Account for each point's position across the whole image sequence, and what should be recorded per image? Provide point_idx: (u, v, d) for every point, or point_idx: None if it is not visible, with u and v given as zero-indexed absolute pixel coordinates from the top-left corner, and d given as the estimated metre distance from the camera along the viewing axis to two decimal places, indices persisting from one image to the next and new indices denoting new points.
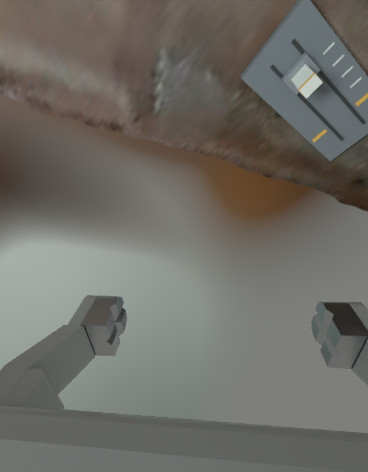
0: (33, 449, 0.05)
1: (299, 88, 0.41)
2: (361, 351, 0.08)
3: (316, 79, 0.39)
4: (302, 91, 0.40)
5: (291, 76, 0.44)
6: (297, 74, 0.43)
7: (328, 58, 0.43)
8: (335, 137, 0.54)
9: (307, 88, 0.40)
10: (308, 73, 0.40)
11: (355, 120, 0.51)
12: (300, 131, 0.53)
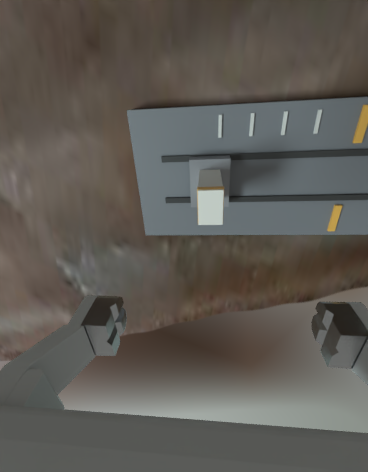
0: (33, 449, 0.05)
1: None
2: (361, 351, 0.08)
3: (207, 194, 0.19)
4: (204, 222, 0.20)
5: (196, 195, 0.25)
6: None
7: (233, 134, 0.23)
8: None
9: (208, 214, 0.19)
10: None
11: None
12: (293, 232, 0.28)
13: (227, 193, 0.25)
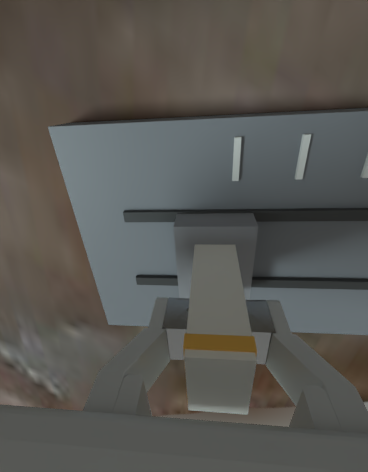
0: (33, 449, 0.05)
1: None
2: (269, 347, 0.08)
3: (211, 366, 0.07)
4: (202, 408, 0.08)
5: (189, 284, 0.13)
6: None
7: (263, 175, 0.12)
8: None
9: (212, 396, 0.08)
10: None
11: None
12: (357, 331, 0.16)
13: (248, 283, 0.13)
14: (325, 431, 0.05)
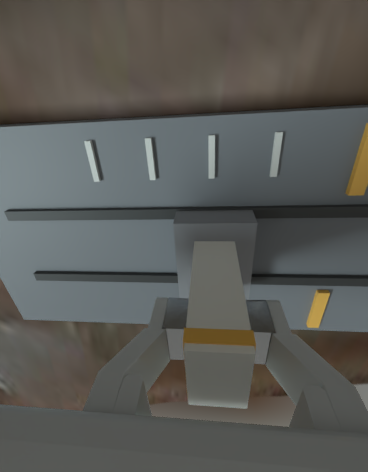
0: (33, 449, 0.05)
1: None
2: (269, 347, 0.08)
3: (211, 359, 0.07)
4: (202, 402, 0.08)
5: (189, 281, 0.13)
6: None
7: (122, 176, 0.12)
8: None
9: (212, 390, 0.08)
10: None
11: None
12: None
13: (247, 280, 0.13)
14: (325, 431, 0.05)
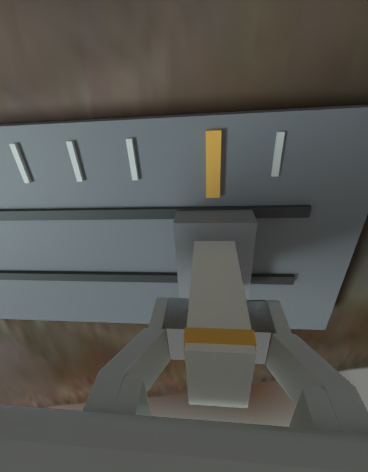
0: (33, 449, 0.05)
1: None
2: (269, 347, 0.08)
3: (212, 359, 0.07)
4: (202, 401, 0.08)
5: (188, 281, 0.13)
6: None
7: (0, 179, 0.13)
8: (263, 285, 0.15)
9: (212, 390, 0.08)
10: None
11: (270, 222, 0.13)
12: None
13: (247, 280, 0.13)
14: (325, 431, 0.05)
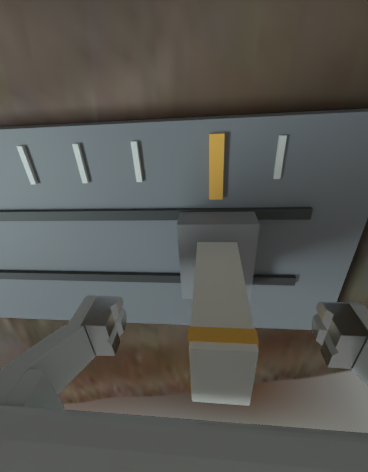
0: (33, 449, 0.05)
1: None
2: (361, 351, 0.08)
3: (215, 357, 0.07)
4: (205, 399, 0.08)
5: (191, 281, 0.14)
6: None
7: (7, 180, 0.13)
8: (264, 286, 0.15)
9: (216, 387, 0.08)
10: None
11: (272, 224, 0.13)
12: (159, 321, 0.18)
13: (249, 280, 0.13)
14: (325, 431, 0.05)
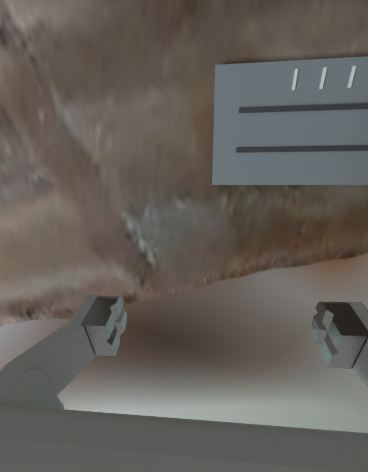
0: (33, 449, 0.05)
1: None
2: (361, 351, 0.08)
3: None
4: None
5: None
6: None
7: (305, 87, 0.27)
8: None
9: None
10: None
11: None
12: (347, 182, 0.32)
13: None
14: (325, 431, 0.05)
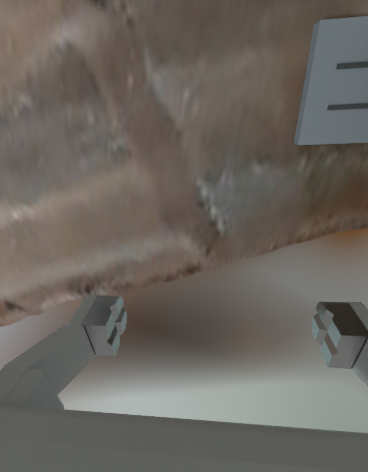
0: (33, 449, 0.05)
1: None
2: (361, 351, 0.08)
3: None
4: None
5: None
6: None
7: None
8: None
9: None
10: None
11: None
12: None
13: None
14: (325, 431, 0.05)
